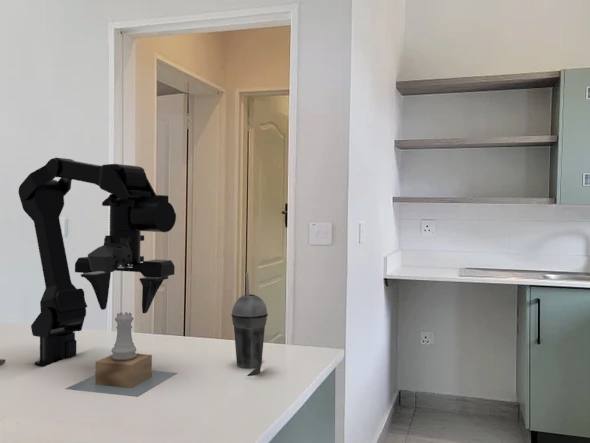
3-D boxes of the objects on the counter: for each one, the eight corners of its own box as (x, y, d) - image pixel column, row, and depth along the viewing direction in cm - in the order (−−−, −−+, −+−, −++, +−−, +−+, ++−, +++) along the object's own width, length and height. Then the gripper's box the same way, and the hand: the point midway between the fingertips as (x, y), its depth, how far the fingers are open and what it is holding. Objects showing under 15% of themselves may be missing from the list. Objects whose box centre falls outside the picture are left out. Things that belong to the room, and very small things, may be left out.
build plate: (64, 397, 93) (64, 388, 93) (112, 374, 107) (113, 366, 107) (137, 405, 90) (137, 396, 90) (177, 380, 103) (177, 372, 103)
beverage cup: (273, 370, 111) (274, 271, 110) (256, 379, 104) (257, 275, 104) (242, 365, 114) (243, 269, 113) (223, 374, 107) (224, 273, 107)
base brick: (95, 384, 96) (95, 361, 96) (118, 373, 102) (118, 352, 102) (130, 388, 94) (130, 364, 94) (151, 376, 101) (151, 354, 101)
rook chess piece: (129, 362, 96) (129, 316, 95) (106, 360, 96) (106, 315, 96) (141, 355, 100) (141, 312, 100) (118, 354, 101) (118, 311, 101)
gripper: (55, 229, 100) (53, 314, 100) (144, 233, 94) (143, 323, 95) (94, 228, 110) (92, 305, 111) (176, 231, 105) (175, 312, 105)
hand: (123, 311), depth 105 cm, fingers open, 9 cm apart
